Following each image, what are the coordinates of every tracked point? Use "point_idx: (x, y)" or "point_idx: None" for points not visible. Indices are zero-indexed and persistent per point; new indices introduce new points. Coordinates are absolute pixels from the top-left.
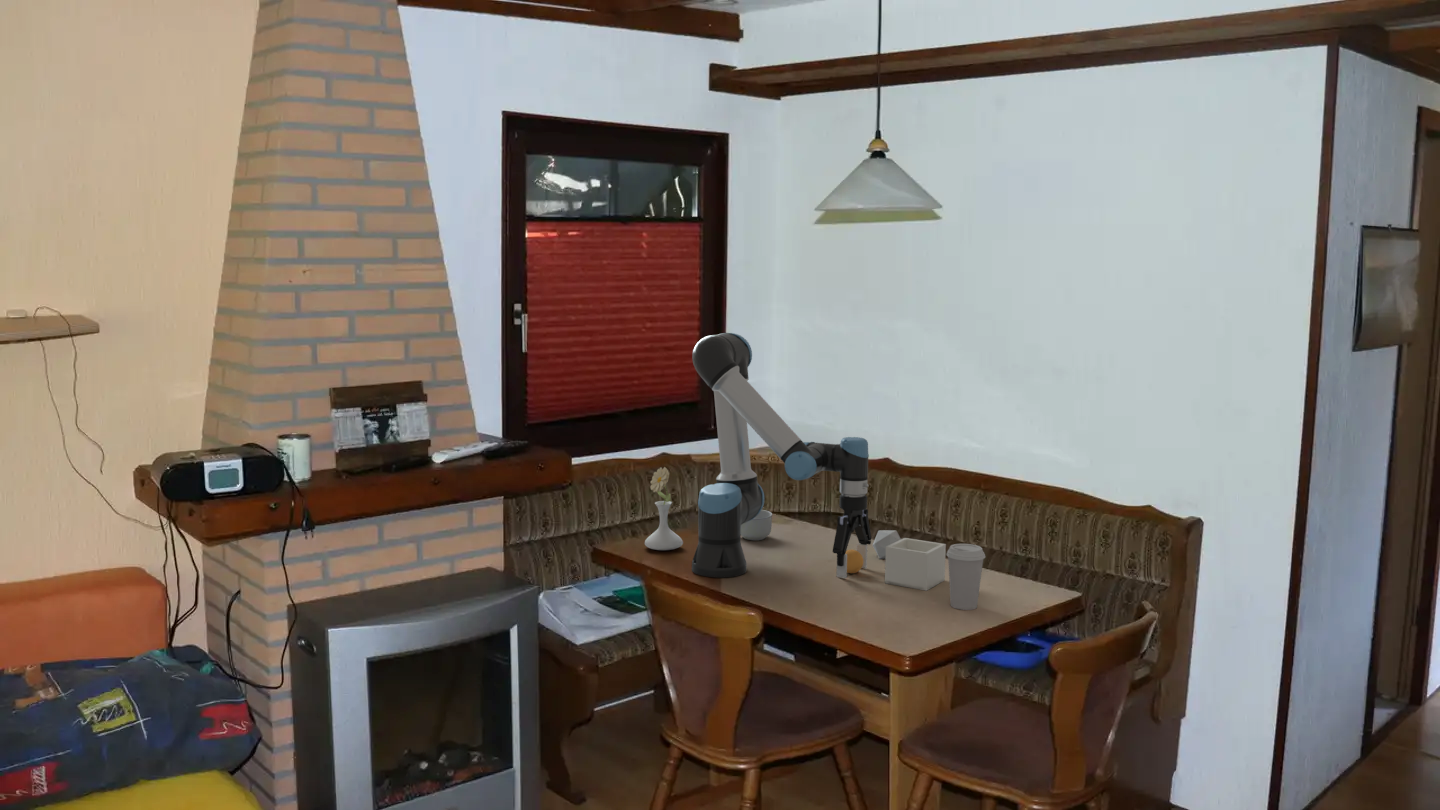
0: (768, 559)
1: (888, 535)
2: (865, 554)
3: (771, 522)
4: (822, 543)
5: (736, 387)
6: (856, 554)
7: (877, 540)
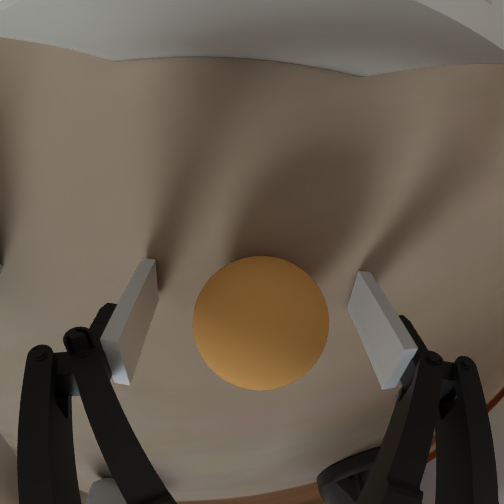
0: (243, 465)
1: None
2: (134, 303)
3: (98, 498)
4: None
5: None
6: (293, 327)
7: None
